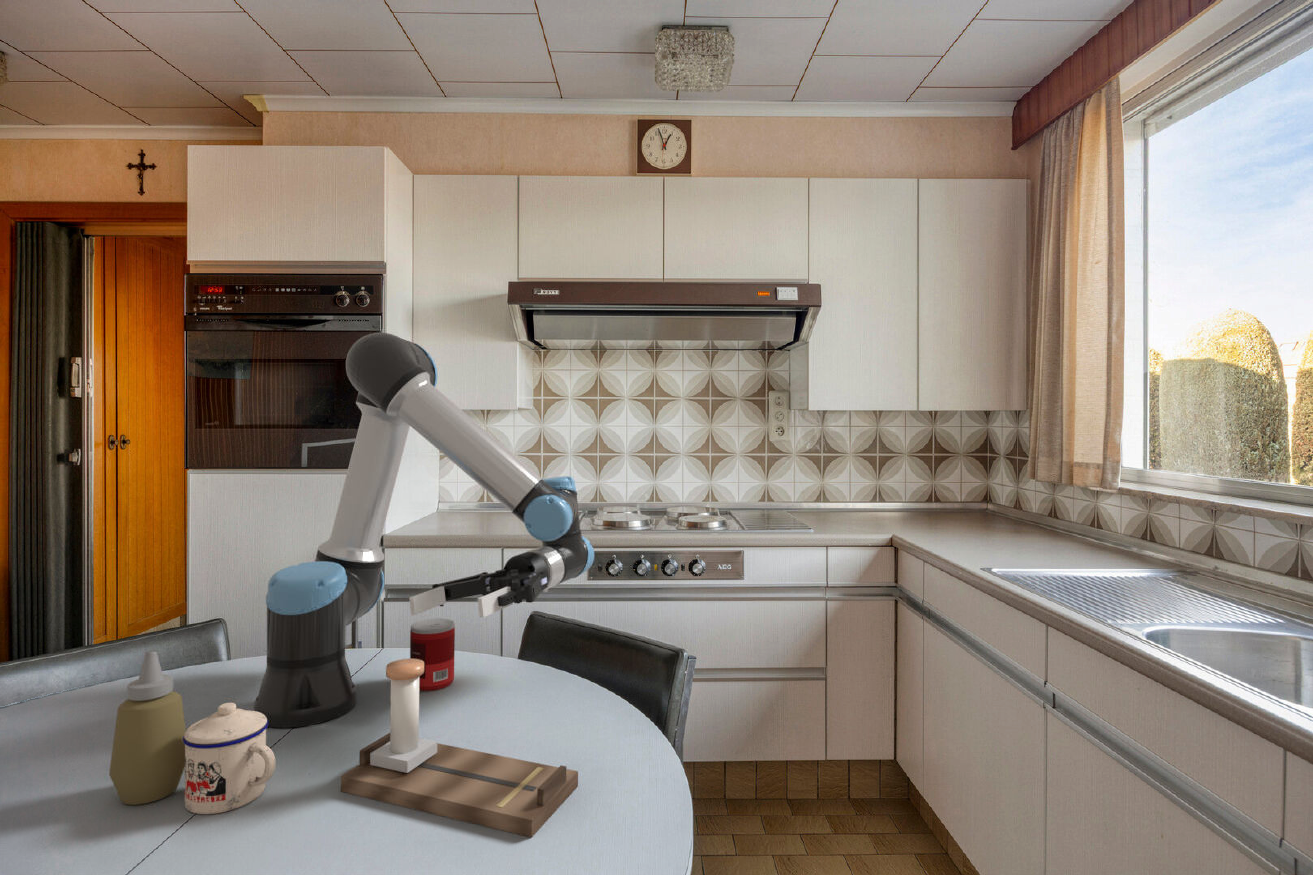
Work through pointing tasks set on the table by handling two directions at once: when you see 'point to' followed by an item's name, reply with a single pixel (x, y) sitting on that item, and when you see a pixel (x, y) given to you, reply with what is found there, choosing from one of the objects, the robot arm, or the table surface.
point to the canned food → (434, 652)
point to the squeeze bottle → (148, 737)
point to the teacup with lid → (226, 760)
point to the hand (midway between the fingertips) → (444, 607)
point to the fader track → (468, 787)
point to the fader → (404, 720)
